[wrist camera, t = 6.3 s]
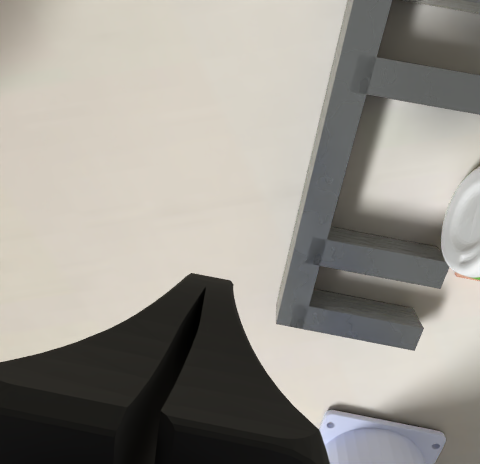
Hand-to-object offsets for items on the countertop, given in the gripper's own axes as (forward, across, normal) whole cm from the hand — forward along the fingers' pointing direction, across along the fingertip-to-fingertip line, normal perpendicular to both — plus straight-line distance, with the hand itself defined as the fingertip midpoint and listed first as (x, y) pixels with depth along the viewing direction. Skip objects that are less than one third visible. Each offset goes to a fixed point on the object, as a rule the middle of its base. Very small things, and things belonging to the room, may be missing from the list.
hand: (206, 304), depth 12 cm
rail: (+10, -8, -3) cm, 13 cm away
